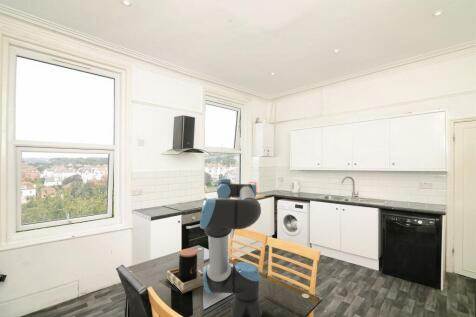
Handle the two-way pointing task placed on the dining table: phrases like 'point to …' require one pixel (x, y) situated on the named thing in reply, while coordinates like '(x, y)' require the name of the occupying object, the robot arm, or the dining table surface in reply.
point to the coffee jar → (187, 265)
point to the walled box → (187, 286)
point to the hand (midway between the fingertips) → (223, 239)
